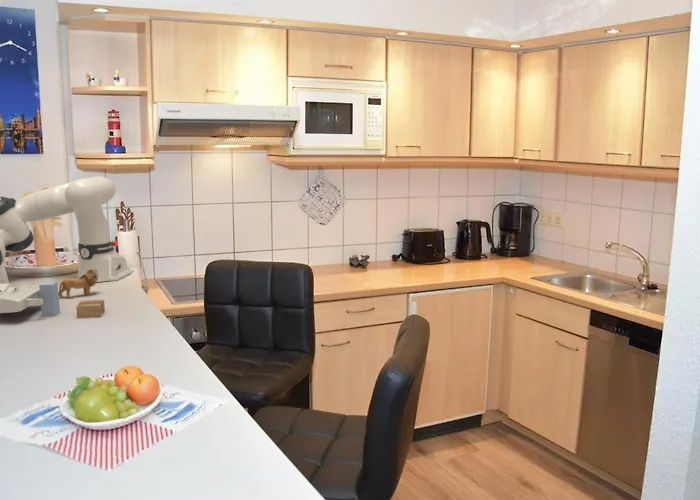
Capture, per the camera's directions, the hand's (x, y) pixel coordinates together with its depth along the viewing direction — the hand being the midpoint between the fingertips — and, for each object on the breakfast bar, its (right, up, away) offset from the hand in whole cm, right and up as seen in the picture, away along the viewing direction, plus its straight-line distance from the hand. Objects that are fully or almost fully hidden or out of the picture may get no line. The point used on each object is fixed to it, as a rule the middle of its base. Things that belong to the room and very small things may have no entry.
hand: (50, 297), depth 206 cm
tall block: (0, -5, +1) cm, 6 cm away
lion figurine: (0, -1, +23) cm, 23 cm away
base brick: (+12, -6, +1) cm, 14 cm away
